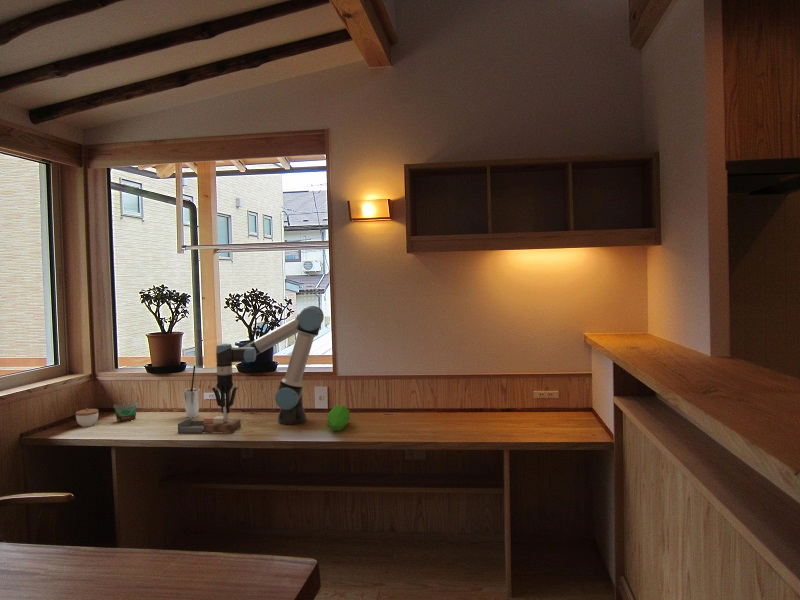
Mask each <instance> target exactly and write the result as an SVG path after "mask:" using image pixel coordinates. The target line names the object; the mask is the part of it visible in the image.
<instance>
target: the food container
mask: <svg viewBox="0 0 800 600" xmlns="http://www.w3.org/2000/svg"><path fill="white" fill-rule="evenodd" d="M138 405H139V403H138V401H137V400H136V401H135V402H125V403H121V404H115V403H114V404H113V409H114V412H115V417H116V422H118V423H127V421H129V422H132V421H131V420H133V421H135V420H136V417H137V406H138ZM134 419H135V420H134Z"/></svg>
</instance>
